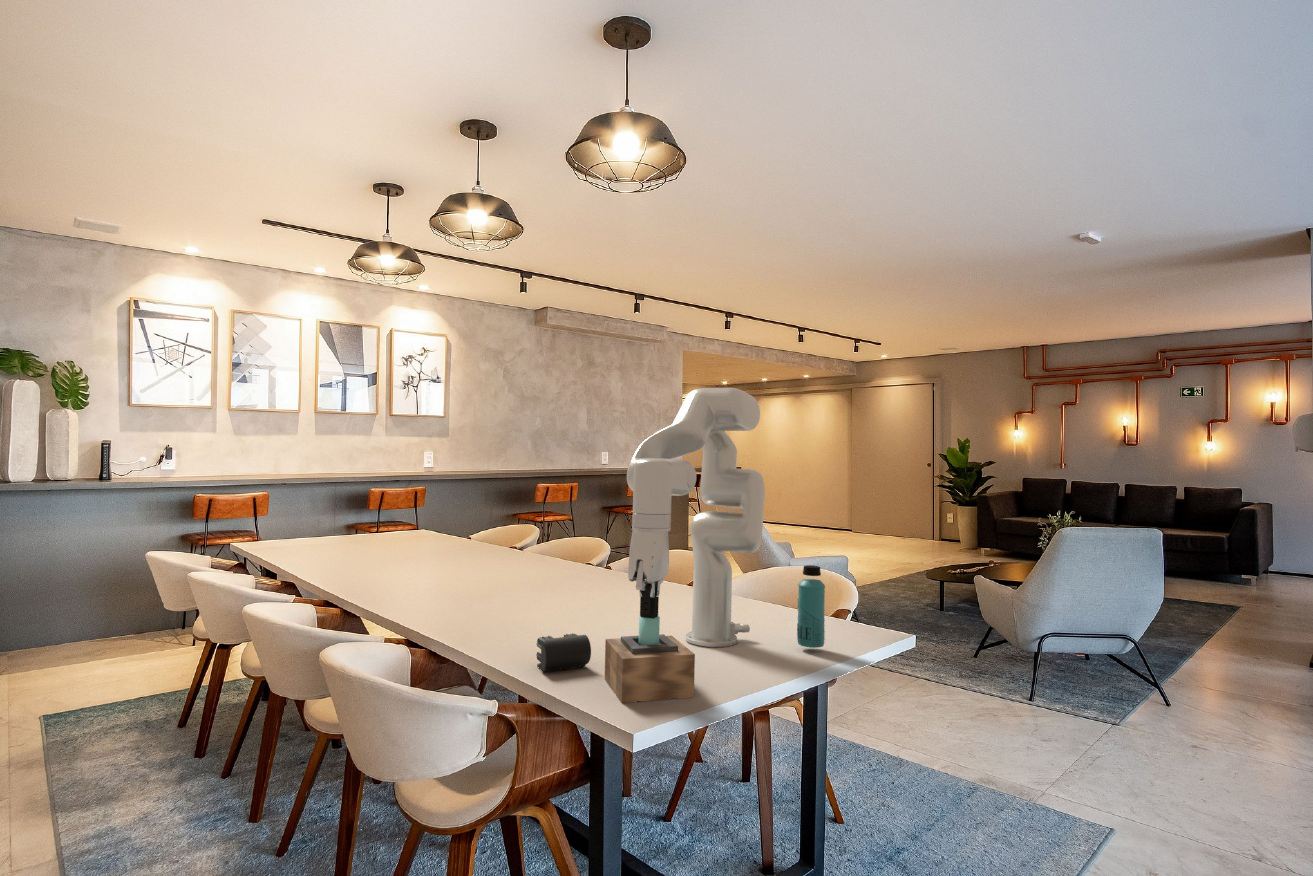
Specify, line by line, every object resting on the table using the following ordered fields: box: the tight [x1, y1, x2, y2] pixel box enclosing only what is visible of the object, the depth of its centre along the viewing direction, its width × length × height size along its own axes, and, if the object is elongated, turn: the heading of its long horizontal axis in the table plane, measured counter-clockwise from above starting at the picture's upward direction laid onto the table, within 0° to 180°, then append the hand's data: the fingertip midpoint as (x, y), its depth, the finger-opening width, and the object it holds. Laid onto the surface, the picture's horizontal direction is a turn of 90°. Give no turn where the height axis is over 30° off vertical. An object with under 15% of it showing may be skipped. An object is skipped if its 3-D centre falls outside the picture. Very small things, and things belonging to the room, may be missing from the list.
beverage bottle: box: [796, 564, 826, 649], centre depth 167 cm, size 6×7×20 cm
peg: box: [638, 615, 661, 646], centre depth 138 cm, size 4×4×9 cm
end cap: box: [535, 633, 592, 673], centre depth 149 cm, size 10×7×7 cm
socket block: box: [604, 633, 696, 704], centre depth 137 cm, size 14×14×9 cm
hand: (649, 616), depth 137 cm, fingers closed
